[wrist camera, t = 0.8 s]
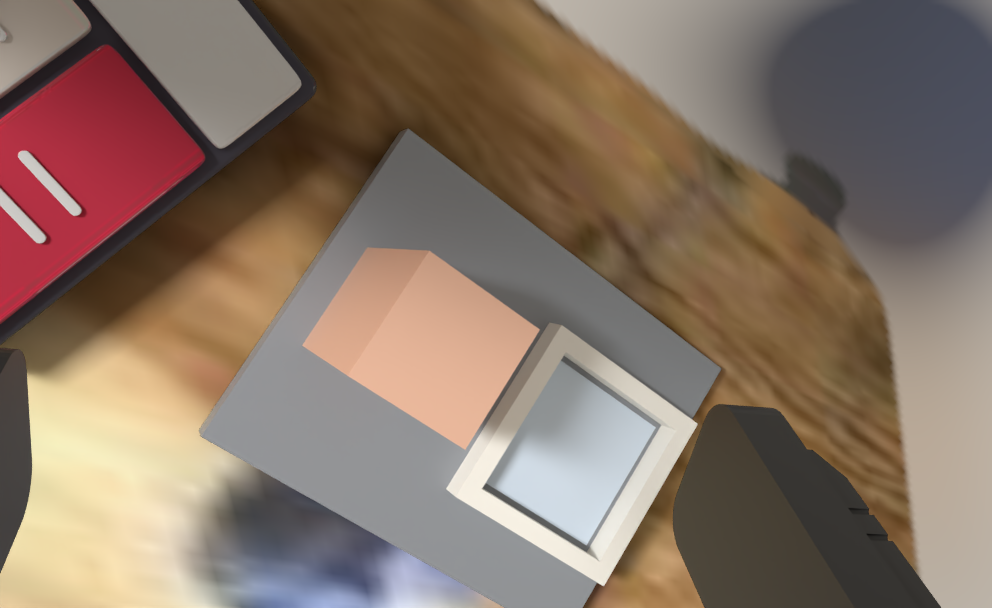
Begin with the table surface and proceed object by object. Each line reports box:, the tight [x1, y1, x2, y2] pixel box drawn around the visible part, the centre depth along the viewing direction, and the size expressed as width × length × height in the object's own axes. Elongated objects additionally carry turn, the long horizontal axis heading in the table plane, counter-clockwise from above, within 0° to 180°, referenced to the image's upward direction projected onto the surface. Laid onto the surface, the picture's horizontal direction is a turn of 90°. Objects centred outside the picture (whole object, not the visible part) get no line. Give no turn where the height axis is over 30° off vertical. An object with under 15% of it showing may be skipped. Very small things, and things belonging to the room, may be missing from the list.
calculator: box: [0, 0, 317, 345], centre depth 30 cm, size 11×4×15 cm
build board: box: [199, 129, 721, 608], centre depth 37 cm, size 18×14×2 cm
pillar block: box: [302, 247, 540, 450], centre depth 32 cm, size 4×4×8 cm
